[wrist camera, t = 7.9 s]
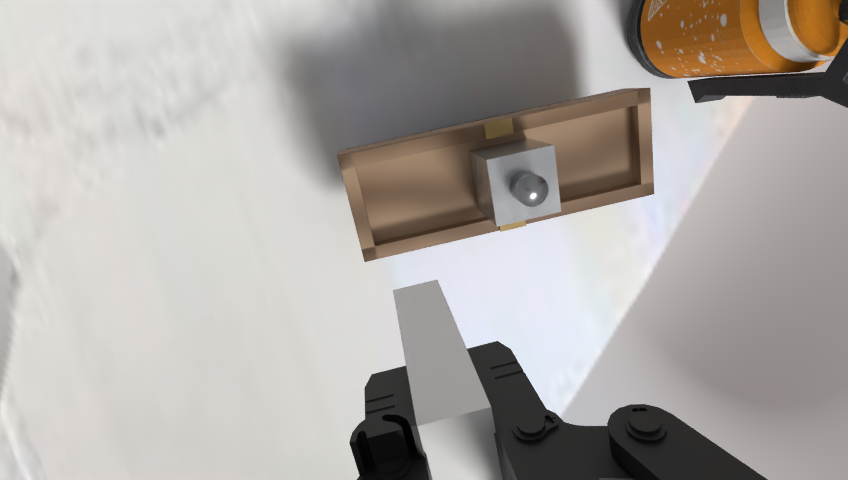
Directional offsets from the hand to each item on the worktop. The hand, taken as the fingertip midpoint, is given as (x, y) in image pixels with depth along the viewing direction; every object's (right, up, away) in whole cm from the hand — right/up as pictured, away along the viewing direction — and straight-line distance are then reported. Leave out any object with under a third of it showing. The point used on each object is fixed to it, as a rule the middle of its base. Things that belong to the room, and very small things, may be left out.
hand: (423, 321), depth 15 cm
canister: (+22, +20, +25) cm, 39 cm away
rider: (+6, +8, +19) cm, 22 cm away
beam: (+5, +10, +26) cm, 28 cm away
